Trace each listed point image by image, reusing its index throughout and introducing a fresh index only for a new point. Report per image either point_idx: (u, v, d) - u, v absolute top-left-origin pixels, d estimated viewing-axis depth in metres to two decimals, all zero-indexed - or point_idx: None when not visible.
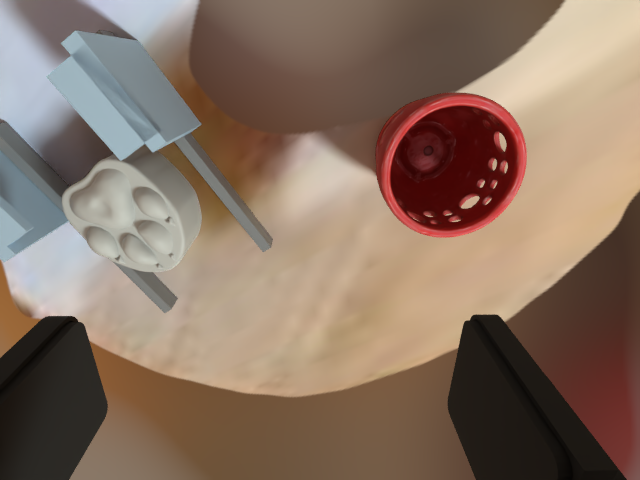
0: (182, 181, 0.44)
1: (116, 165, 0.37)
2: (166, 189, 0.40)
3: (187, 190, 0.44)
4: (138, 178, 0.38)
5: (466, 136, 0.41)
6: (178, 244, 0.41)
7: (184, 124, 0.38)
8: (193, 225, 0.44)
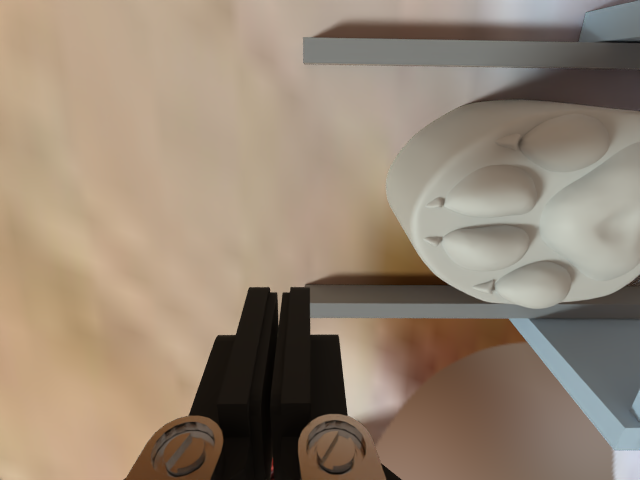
0: None
1: (623, 280, 0.20)
2: None
3: None
4: (579, 294, 0.21)
5: None
6: (443, 267, 0.20)
7: None
8: None
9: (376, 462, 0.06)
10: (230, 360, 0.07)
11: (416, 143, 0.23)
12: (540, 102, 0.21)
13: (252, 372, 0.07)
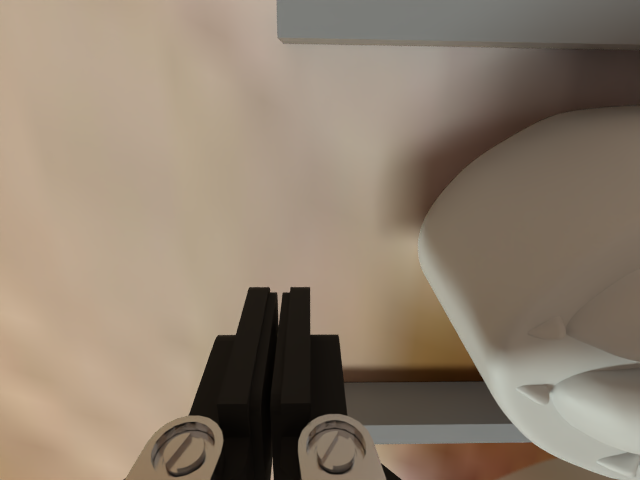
0: None
1: None
2: None
3: None
4: None
5: None
6: (547, 432, 0.10)
7: None
8: None
9: (376, 462, 0.06)
10: (230, 360, 0.07)
11: (478, 182, 0.13)
12: None
13: (252, 372, 0.07)
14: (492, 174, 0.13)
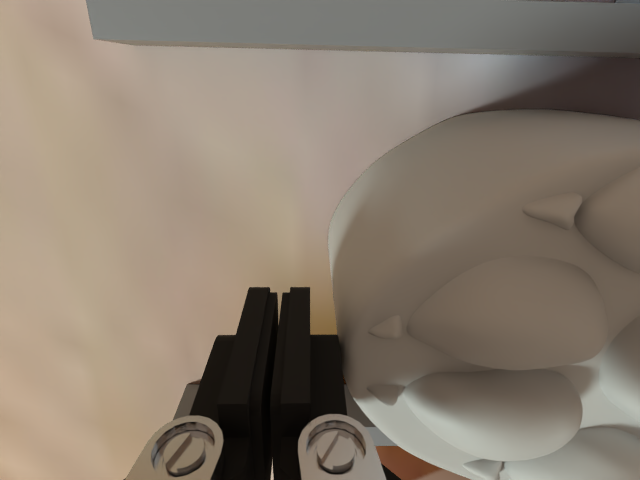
0: None
1: None
2: None
3: None
4: None
5: None
6: (406, 434, 0.10)
7: None
8: None
9: (376, 462, 0.06)
10: (230, 360, 0.07)
11: (372, 181, 0.13)
12: (597, 118, 0.11)
13: (252, 372, 0.07)
14: (384, 173, 0.13)
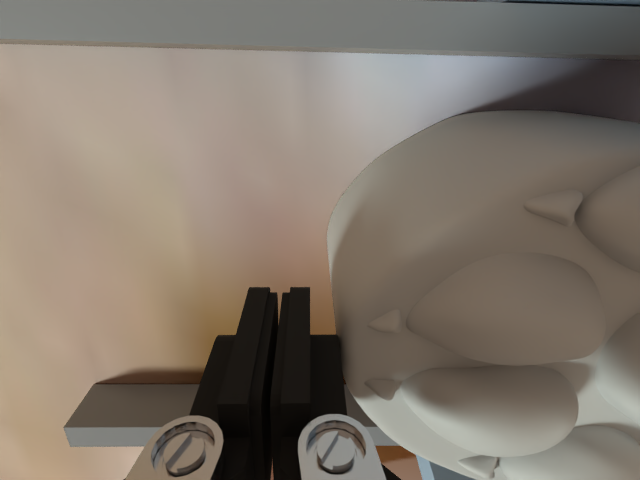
0: None
1: None
2: None
3: None
4: None
5: None
6: (402, 429, 0.10)
7: None
8: None
9: (376, 462, 0.06)
10: (230, 360, 0.07)
11: (373, 177, 0.13)
12: (598, 119, 0.11)
13: (252, 372, 0.07)
14: (385, 170, 0.13)
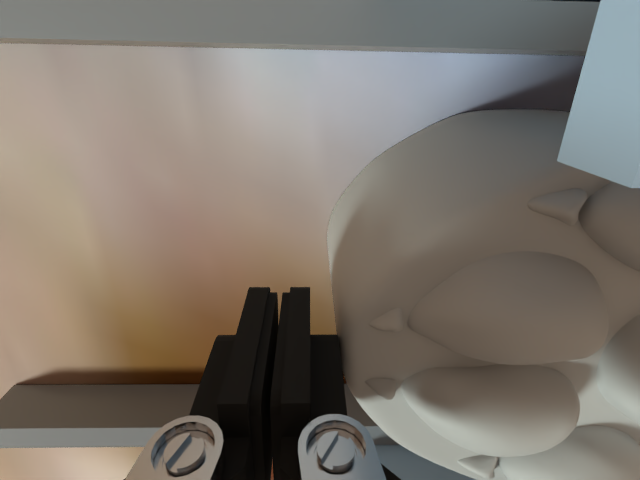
0: None
1: None
2: None
3: None
4: None
5: None
6: (403, 429, 0.10)
7: None
8: None
9: (376, 462, 0.06)
10: (230, 360, 0.07)
11: (374, 175, 0.13)
12: None
13: (252, 372, 0.07)
14: (386, 168, 0.13)
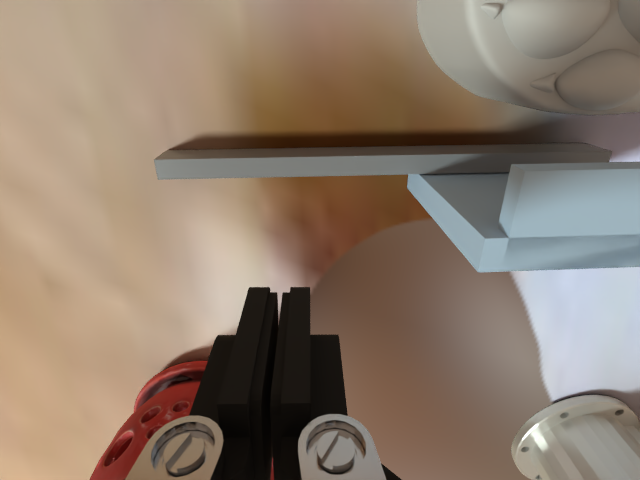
0: None
1: None
2: None
3: None
4: None
5: None
6: (499, 51, 0.16)
7: None
8: (464, 72, 0.20)
9: (376, 462, 0.06)
10: (230, 360, 0.07)
11: None
12: None
13: (252, 372, 0.07)
14: None
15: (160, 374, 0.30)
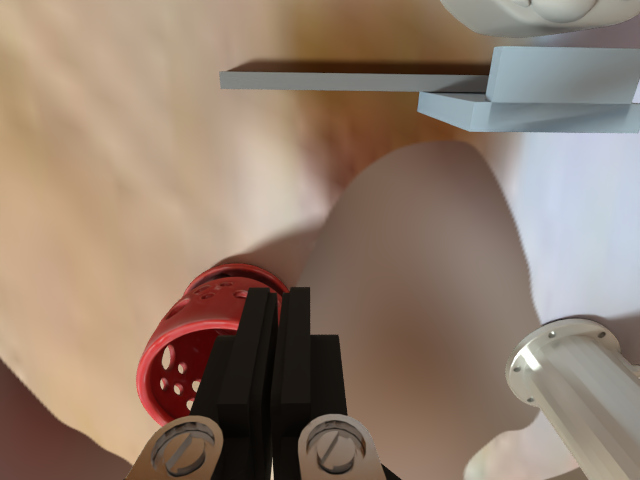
0: (508, 35, 0.29)
1: None
2: (547, 30, 0.25)
3: (496, 33, 0.28)
4: (602, 15, 0.23)
5: None
6: None
7: None
8: (464, 2, 0.26)
9: (376, 462, 0.06)
10: (230, 360, 0.07)
11: None
12: None
13: (252, 372, 0.07)
14: None
15: (205, 272, 0.36)
